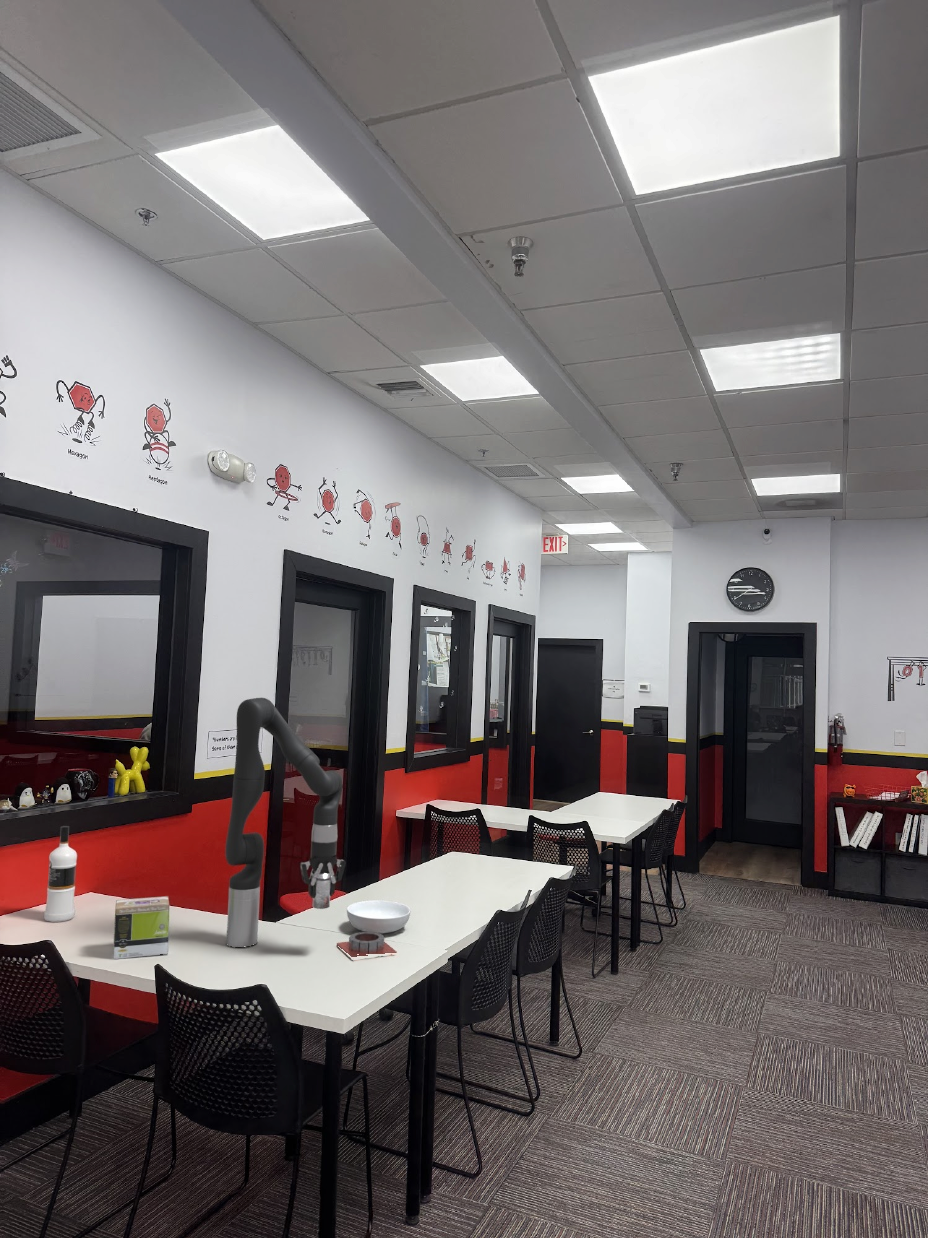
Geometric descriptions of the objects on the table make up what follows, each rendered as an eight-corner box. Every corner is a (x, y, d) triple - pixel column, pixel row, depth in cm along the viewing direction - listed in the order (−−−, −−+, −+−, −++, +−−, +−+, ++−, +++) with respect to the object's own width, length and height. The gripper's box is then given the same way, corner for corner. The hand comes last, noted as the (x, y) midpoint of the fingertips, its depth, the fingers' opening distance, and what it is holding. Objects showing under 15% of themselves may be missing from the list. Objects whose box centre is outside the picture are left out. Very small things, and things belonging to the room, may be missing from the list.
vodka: (75, 921, 279) (81, 828, 281) (44, 924, 275) (49, 829, 276) (73, 913, 287) (79, 823, 289) (43, 916, 283) (48, 824, 285)
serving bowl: (379, 944, 266) (380, 922, 267) (332, 930, 279) (333, 908, 279) (422, 929, 283) (423, 908, 283) (376, 916, 296) (377, 896, 296)
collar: (336, 946, 263) (337, 933, 263) (379, 941, 269) (379, 928, 270) (352, 961, 251) (353, 947, 251) (396, 955, 257) (397, 941, 257)
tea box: (166, 944, 259) (169, 895, 260) (168, 955, 250) (170, 904, 251) (113, 949, 254) (116, 898, 255) (112, 960, 245) (115, 907, 245)
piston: (310, 904, 255) (311, 871, 256) (326, 903, 258) (328, 869, 258) (315, 909, 251) (317, 875, 251) (332, 908, 253) (333, 873, 254)
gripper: (342, 834, 262) (339, 891, 261) (297, 837, 255) (294, 895, 254) (351, 840, 255) (348, 897, 254) (304, 843, 249) (301, 902, 248)
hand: (321, 896), depth 254 cm, fingers closed on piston, 5 cm apart
